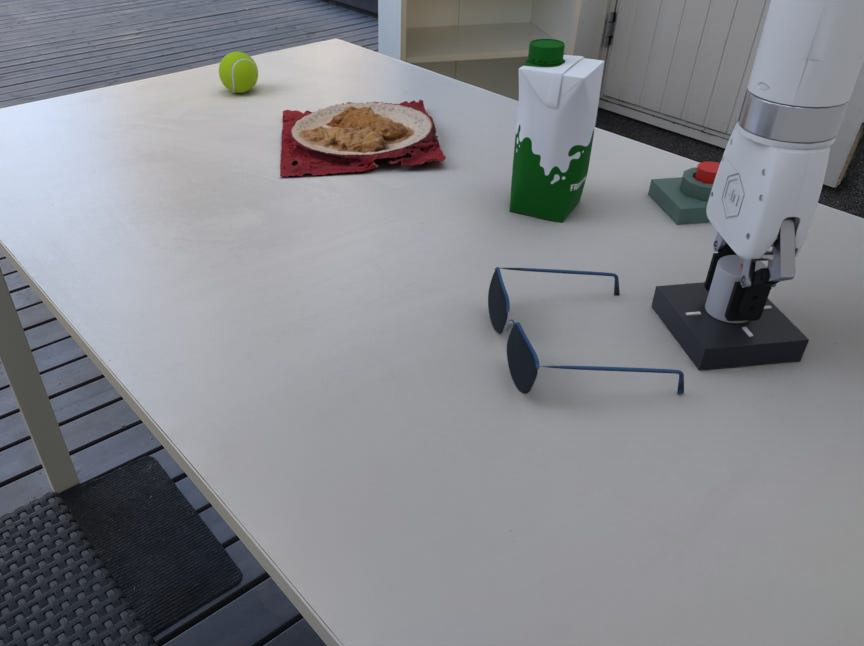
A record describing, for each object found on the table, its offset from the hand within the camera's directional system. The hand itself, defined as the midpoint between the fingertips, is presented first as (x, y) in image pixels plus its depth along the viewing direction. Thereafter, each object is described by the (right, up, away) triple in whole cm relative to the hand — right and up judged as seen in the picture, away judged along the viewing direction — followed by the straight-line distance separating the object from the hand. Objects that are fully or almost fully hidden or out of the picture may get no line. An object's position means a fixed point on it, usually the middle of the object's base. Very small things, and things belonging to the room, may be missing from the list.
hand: (731, 302), depth 71 cm
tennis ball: (-60, +44, +65) cm, 99 cm away
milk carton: (-12, +14, +25) cm, 32 cm away
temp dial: (0, -1, +1) cm, 1 cm away
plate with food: (-38, +29, +45) cm, 65 cm away
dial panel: (0, -3, +2) cm, 4 cm away
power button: (+8, +17, +22) cm, 29 cm away
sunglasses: (-15, -4, +1) cm, 15 cm away
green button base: (+8, +14, +24) cm, 29 cm away
